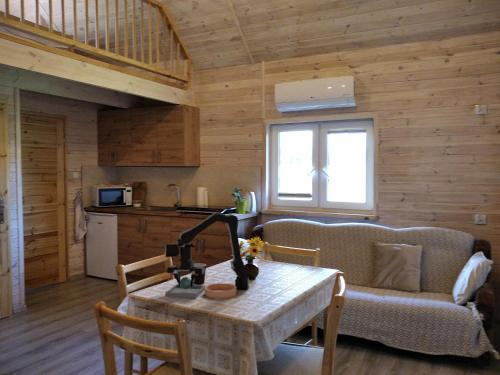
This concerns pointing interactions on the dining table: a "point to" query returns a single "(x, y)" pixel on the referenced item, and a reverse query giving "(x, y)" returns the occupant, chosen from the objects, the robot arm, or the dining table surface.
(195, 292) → the tray
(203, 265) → the coffee mug
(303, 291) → the dining table surface
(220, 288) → the bowl
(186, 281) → the ball
